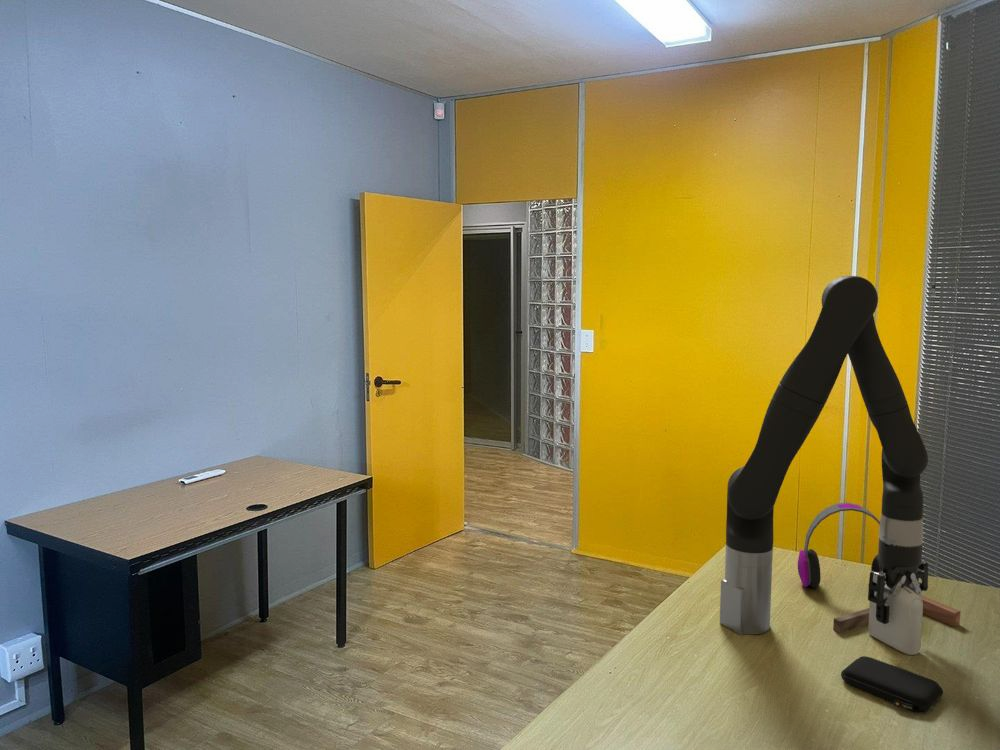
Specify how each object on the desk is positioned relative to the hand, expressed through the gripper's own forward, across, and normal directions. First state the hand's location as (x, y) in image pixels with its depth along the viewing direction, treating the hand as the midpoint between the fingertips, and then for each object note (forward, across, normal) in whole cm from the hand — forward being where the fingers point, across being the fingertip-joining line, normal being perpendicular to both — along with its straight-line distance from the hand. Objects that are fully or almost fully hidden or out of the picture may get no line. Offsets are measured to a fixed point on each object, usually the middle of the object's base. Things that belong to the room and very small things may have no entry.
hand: (897, 617), depth 146 cm
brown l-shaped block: (+5, -6, -4) cm, 9 cm away
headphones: (+6, -13, -22) cm, 26 cm away
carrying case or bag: (+6, +16, +10) cm, 20 cm away
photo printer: (+6, 0, 0) cm, 6 cm away
